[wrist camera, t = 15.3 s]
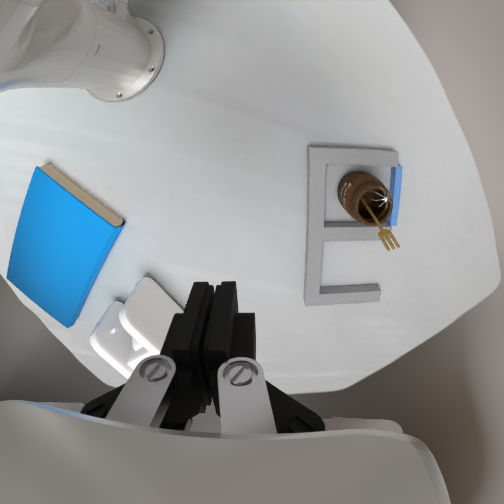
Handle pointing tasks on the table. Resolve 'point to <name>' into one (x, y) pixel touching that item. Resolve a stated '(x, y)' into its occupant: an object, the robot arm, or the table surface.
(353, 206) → the utensil holder
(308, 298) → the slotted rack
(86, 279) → the book
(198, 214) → the table surface
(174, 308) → the cable organizer
